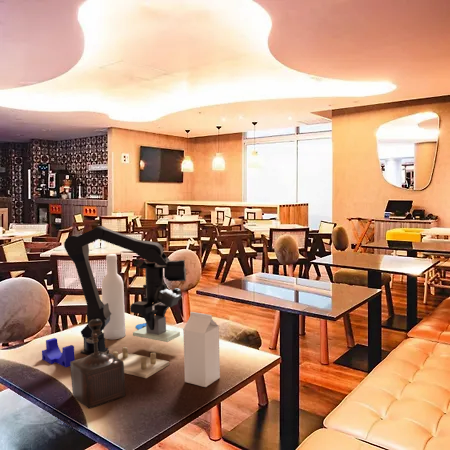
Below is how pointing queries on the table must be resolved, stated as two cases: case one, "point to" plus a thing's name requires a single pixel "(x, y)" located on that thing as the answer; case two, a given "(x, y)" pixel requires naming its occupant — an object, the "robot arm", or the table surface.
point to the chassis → (140, 363)
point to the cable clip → (58, 353)
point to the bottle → (113, 300)
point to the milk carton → (201, 350)
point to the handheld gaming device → (141, 326)
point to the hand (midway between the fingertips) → (156, 328)
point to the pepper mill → (97, 374)
